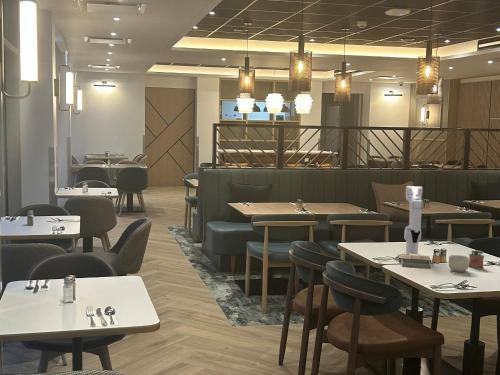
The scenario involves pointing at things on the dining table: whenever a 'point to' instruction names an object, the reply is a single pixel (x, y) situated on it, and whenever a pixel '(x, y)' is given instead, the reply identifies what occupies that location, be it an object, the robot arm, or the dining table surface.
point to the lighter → (476, 259)
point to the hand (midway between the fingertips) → (414, 242)
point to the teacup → (458, 263)
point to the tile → (414, 256)
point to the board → (406, 257)
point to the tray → (415, 263)
